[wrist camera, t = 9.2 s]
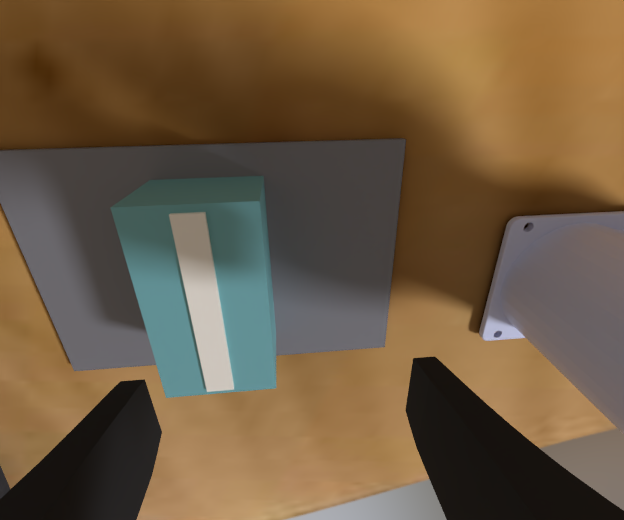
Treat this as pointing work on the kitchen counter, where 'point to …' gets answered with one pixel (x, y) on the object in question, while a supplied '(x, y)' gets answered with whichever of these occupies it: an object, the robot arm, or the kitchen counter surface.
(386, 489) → the kitchen counter surface
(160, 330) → the card box
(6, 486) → the ammunition clip
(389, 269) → the mat
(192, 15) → the kitchen counter surface
